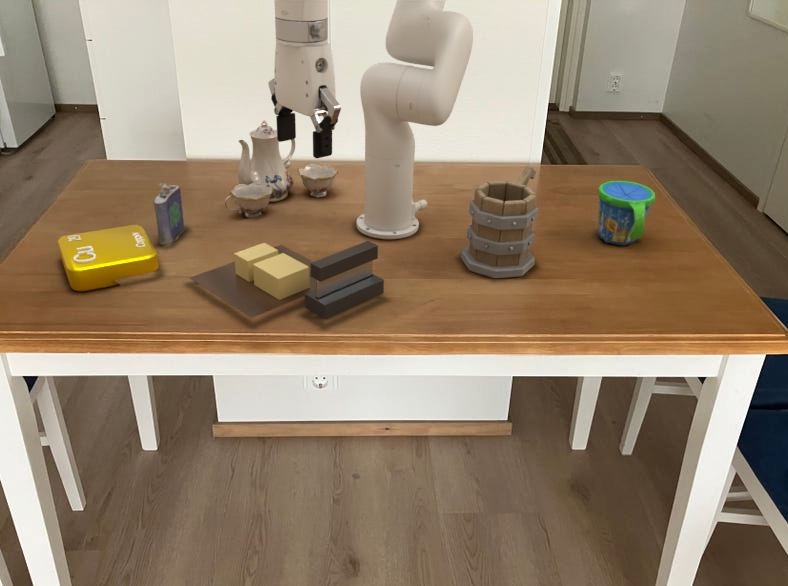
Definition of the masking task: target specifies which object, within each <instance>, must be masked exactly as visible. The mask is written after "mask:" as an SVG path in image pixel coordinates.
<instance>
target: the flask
mask: <svg viewBox="0 0 788 586" xmlns="http://www.w3.org/2000/svg"><path fill="white" fill-rule="evenodd" d="M158 187H160V188H161V189H160V192H159V193H158V194H157V196H156V197H155V199H154V201H153V205H154V210H155V212H154V213H155V219H156V226H157V234H158V242H159V246H160V247H165V246H168V245H170V244H174V242H176V241H177V240H178V239H179V236H180V235H181V234H182V233H183V232H184V231H185V230H186V229H185V221H184V212H183V203H182V195H181V194H182V191H181V187H180V186H179V185H177V184H176V185H175V184H170V185H167V184H166V183H159V184H158Z"/></svg>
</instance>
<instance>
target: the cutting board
mask: <svg viewBox="0 0 788 586" xmlns="http://www.w3.org/2000/svg"><path fill="white" fill-rule="evenodd" d="M273 248H275V249H277V250H278V255H279V254H282V253H284V254H286V255H288V256H290V257H292V258H294V259H295V260H297V261H299V262H301V263H303V264H305V265H307V266H308V267H309V281H310V288H308V289H305V290H303V291H300V292H298V293H296V294H293V295H291V296H288V297H286V298H283V299H281V300H279V299H277V298H275V297H274V296H272V295H270V294H269V293H267V292H265V291H264V290H262V289H260V288H259V287H257V286H255V285H254V280H253V281H250V282H249V281H247V280H245V279H244V278H242V277H240V276H239V275H237V274H236V270H235V261H232V262H230V263H227V264H224V265H220V266H218V267H216V268H215V267H214V268H213V269H210V270H207V271H204V272H202V273H199V274H196V275H193V276H190V277H189V279H190V280H192V281H193V282H195V283H196V284H198V285H199V286H201V287H203V288H204V289H206V290H207V291H209V292H211V293H212V294H213V295H215V296H216V297H218V298H220V299H221V300H223V301H224V302H226V303H227V304H229V305H231V306H232V307H233V308H235V309H237V310H239V312H241V313H242V314H244V315H246V316H248V317H249V318H251V319H253V318H255V317H258V316H260V315H262V314H264V313H267V312H269V311H272V310H274V309H277V308H279V307H282V306H284V305H286V304H289V303H291V302H293V301H296V300H298V299H300V298H303V297H305V293H308V292H310V291H312V290H315V289H316V279H314V278H313V277H311V267H310V263H312V262H314V261H313V260H311V259H309V258H307V257H305V256H304V255H302V254H300V253H298V252H296V251H294V250H293V249H291V248H289V247H287V246H285V245H283V244H280V245H276V246H274V247H273Z"/></svg>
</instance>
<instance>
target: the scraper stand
mask: <svg viewBox="0 0 788 586" xmlns="http://www.w3.org/2000/svg"><path fill="white" fill-rule="evenodd" d="M384 285H385V279H384V278H382V277H380V276H378V275H376V274H374V273H372V277H370V278H368V279H365V280H363V281H361V282H358V283H356V284H354V285H351V286H349V287H347V288H344V289H342V290H339V291H337V292H335V293H332V294H330V295H328V296H325V297H323V298H321V299H316V289H315V290H312V291H310V292H308V293H305V296H304V308H305V309H307V310H309V311H311V312H312V313H314V314H315V315H317V316H319V317H321V318H322V319H324V320H326V319H328V318H330V317H333V316H335V315H338V314H340V313H342V312H345V311H346V310H349V309H351V308H353V307H355V306H357V305H359V304H362V303H364V302H366V301H368V300H371V299H374V298H375V297H378V296H380V295H382V294H384V289H385V287H384Z"/></svg>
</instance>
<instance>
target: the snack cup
mask: <svg viewBox="0 0 788 586" xmlns="http://www.w3.org/2000/svg"><path fill="white" fill-rule="evenodd" d="M597 194H598V195H597V196H598V198H599V199H598V200H599V202H598V221H597V223H598V224H597V235H598V237H599V238H600V239H601V240H603V241H604V242H605V243H609V244H613V245H618V246H626V245H631V244H633V243H635V242H636V241H637V240H638V239H640V238H642V237H643V235H644V233H645V220H646V217H647V215H648V211H649V209H650V207H651V206H652V205H653V204H654V202H655V201H656V193H655V191H654V190H653V189H651V188H650V187H648V186H647V185H644V184H641V183H638V182H634V181H628V180H610V181H609V180H608V181H606V182H603V183H601V184H600V186H598V188H597Z"/></svg>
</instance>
